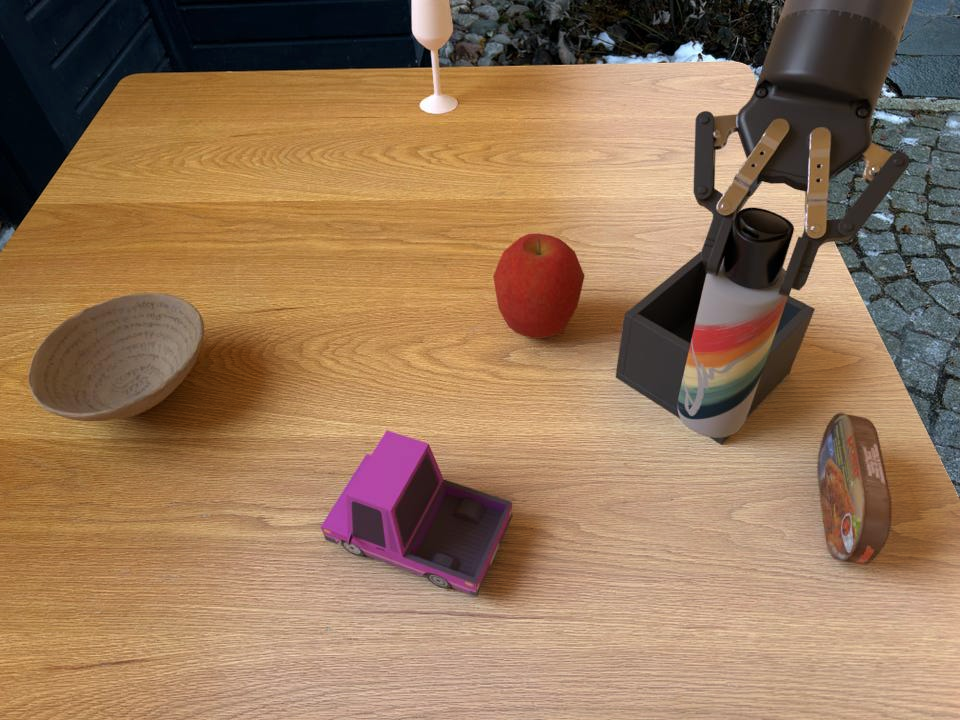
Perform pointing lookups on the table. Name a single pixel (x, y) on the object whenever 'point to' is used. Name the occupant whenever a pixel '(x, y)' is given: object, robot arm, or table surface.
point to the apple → (538, 285)
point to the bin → (668, 333)
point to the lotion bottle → (735, 325)
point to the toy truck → (418, 517)
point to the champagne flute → (433, 46)
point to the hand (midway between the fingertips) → (747, 282)
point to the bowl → (117, 357)
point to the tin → (853, 490)
